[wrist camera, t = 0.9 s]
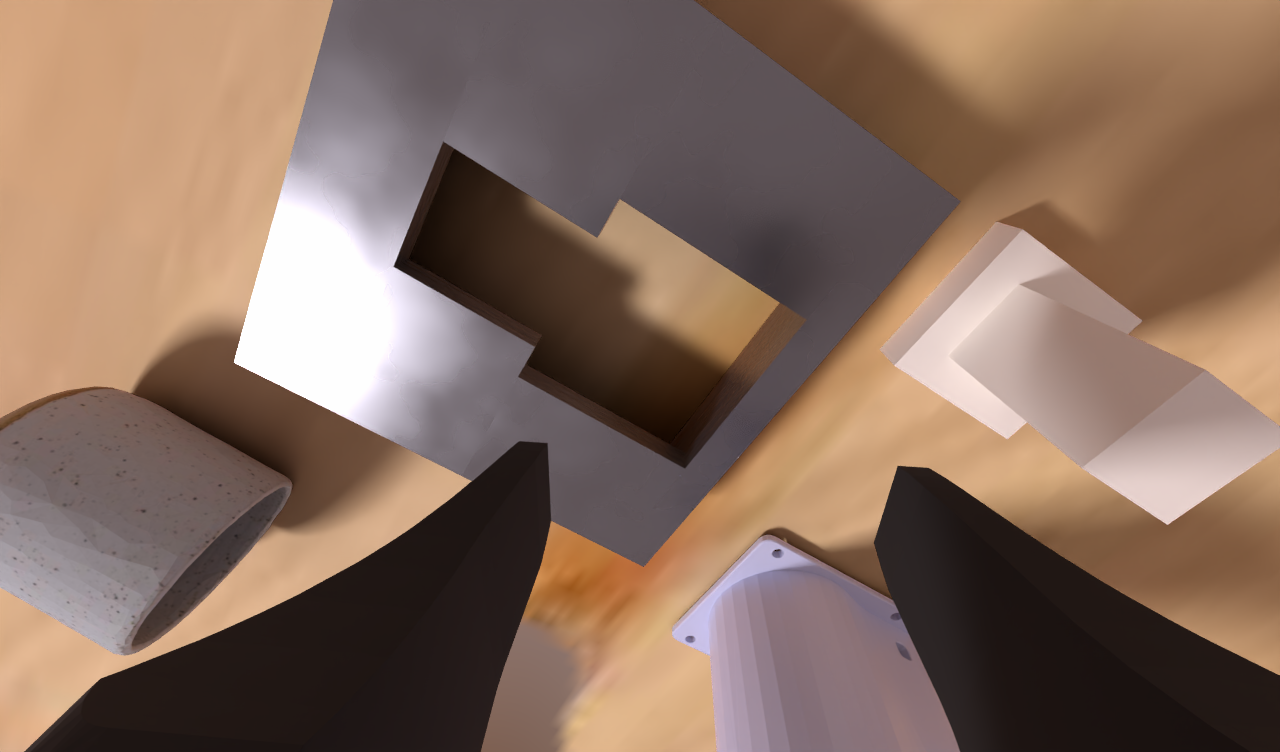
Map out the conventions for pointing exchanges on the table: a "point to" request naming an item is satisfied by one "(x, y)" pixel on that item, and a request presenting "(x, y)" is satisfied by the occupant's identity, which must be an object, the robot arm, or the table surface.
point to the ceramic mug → (123, 513)
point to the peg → (1077, 376)
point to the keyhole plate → (586, 195)
